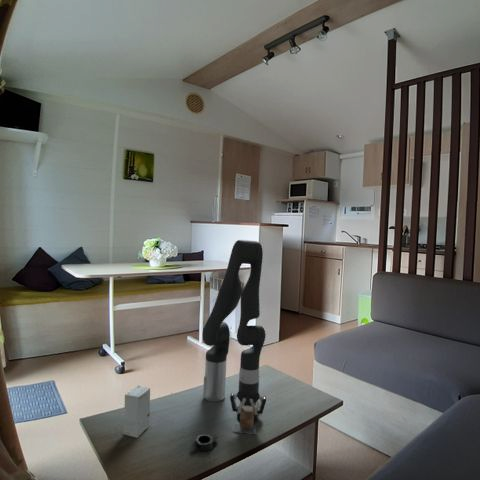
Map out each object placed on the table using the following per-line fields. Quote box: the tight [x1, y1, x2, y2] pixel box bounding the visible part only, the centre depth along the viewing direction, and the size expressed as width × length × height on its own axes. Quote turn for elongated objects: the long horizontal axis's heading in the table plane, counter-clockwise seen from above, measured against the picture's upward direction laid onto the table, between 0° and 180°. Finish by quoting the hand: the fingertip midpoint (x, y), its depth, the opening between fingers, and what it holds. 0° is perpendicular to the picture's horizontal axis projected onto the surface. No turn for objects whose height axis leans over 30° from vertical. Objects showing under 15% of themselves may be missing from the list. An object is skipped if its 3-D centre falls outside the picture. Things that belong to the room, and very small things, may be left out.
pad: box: [233, 423, 257, 435], centre depth 131 cm, size 8×5×1 cm, turn 85°
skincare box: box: [123, 385, 151, 439], centre depth 128 cm, size 8×6×15 cm
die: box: [247, 400, 263, 419], centre depth 139 cm, size 8×9×10 cm
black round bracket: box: [189, 433, 219, 453], centre depth 121 cm, size 8×10×3 cm
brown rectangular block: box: [239, 406, 255, 429], centre depth 131 cm, size 5×4×6 cm
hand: (247, 422), depth 131 cm, fingers closed on brown rectangular block, 5 cm apart
